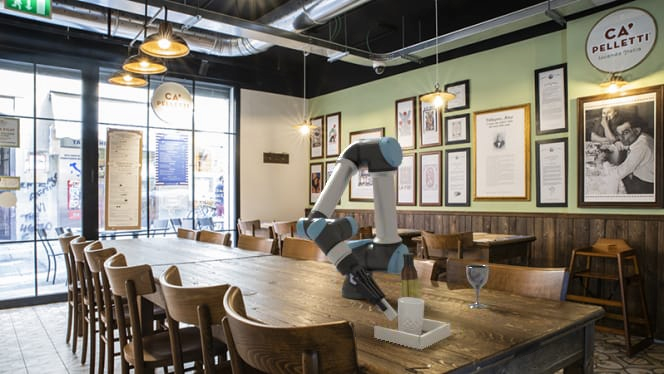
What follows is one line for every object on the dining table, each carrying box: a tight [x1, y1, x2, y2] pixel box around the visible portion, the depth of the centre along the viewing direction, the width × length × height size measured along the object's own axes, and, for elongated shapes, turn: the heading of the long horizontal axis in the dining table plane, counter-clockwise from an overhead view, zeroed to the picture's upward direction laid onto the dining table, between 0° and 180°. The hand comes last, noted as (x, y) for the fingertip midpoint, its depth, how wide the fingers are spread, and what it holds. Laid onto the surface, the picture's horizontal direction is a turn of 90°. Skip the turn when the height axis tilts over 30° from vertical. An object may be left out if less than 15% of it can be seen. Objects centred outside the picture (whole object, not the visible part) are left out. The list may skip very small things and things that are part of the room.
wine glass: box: [466, 264, 489, 309], centre depth 169 cm, size 8×8×15 cm
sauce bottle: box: [400, 252, 420, 299], centre depth 168 cm, size 7×6×20 cm
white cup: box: [397, 296, 425, 336], centre depth 135 cm, size 8×8×10 cm
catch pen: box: [373, 317, 451, 351], centre depth 132 cm, size 16×17×4 cm
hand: (394, 318), depth 135 cm, fingers closed
